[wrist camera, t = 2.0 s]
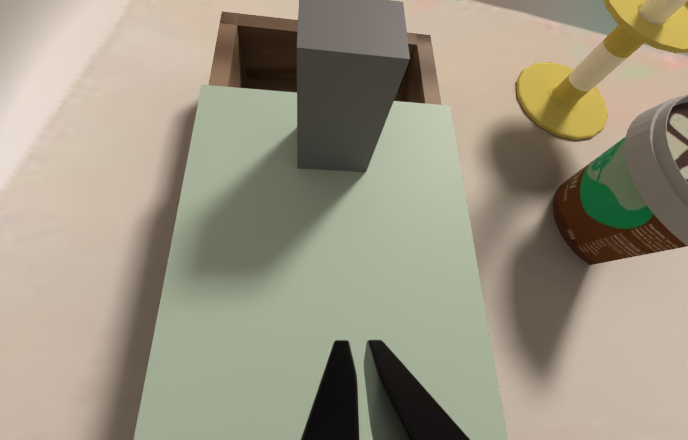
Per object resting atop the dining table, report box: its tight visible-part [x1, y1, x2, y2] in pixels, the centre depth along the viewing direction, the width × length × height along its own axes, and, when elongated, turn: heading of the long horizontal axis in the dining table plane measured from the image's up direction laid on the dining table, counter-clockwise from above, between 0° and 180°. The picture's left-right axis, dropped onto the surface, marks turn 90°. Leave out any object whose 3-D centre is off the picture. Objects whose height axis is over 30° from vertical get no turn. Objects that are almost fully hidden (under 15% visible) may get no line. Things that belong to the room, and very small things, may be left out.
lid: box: [134, 0, 508, 440], centre depth 14 cm, size 20×16×9 cm
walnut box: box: [209, 12, 441, 105], centre depth 24 cm, size 20×16×6 cm
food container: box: [553, 95, 688, 265], centre depth 24 cm, size 12×6×10 cm, turn 144°
